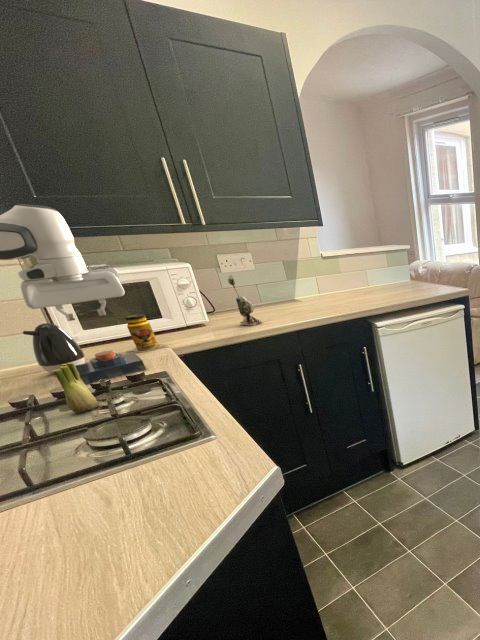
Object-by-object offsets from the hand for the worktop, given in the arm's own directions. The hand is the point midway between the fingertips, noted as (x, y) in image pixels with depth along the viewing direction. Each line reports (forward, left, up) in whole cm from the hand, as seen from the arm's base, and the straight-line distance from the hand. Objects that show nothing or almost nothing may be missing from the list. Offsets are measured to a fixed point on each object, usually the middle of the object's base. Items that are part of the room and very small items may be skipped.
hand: (87, 317), depth 120 cm
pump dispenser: (-9, +15, -17) cm, 25 cm away
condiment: (+12, +22, -17) cm, 30 cm away
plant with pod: (+47, +24, -17) cm, 56 cm away
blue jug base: (0, 0, -17) cm, 17 cm away
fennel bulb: (-9, -29, -17) cm, 35 cm away
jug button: (0, 0, -13) cm, 13 cm away
